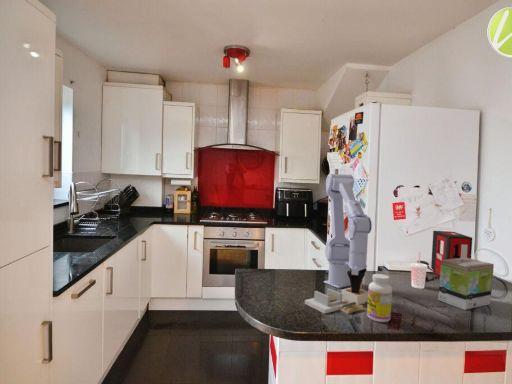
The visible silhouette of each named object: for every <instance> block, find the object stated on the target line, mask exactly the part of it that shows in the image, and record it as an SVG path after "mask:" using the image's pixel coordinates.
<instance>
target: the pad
mask: <svg viewBox="0 0 512 384" xmlns="http://www.w3.org/2000/svg"><path fill="white" fill-rule="evenodd" d="M326 295H327V294H326ZM327 296H329V297H330V300H329V303H330V302H334V301H337V298H335V297H332V296H330V295H327Z"/></svg>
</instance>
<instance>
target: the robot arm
mask: <svg viewBox="0 0 512 384" xmlns="http://www.w3.org/2000/svg"><path fill="white" fill-rule="evenodd" d="M354 178H355V177H354V175H353V174H351V173H350V174H342V173H340V174H339V173H337V174H335V173H329V174H328V175H327V177H326V179H325V192H326V196H328V197H329V200H330V214H331V217H330V218H331V230H332V231H331V235H332V237H331V238H330V239H328V240H326V243H325V251H324V254H325V258H326V260H327V261H328V277H327V278H328V279H327V280H324V281H323V283H325V284H327V285H329V286H331V287H334V288H337V289H339V288H346V287H349V286H350V288H351V290H352V292H353V293H359V290H360V285H361V282H362V283H363V278H365V276H366V272H367V270H368V269H367V268H368V264H367V261H368V260H367V257H368V256H367V254H368V242H369V241H368V239H369V234H370V233H371V231H372V229H373V228H372V227H373V223H372V219H371V217H369V216H368V215H367V214H365V211H364V210H363V208H362V205H361V202H360V201H358V200H356V197H355V193H354V190H353V189H354V185H355V179H354ZM344 203H345V205H344ZM344 211H345V213H346V216H347V219H348V222H347V230H348V237H349V239H348V238H347V237H346V234H345V231H346V230H345V217H344V214H345V213H344Z"/></svg>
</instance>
